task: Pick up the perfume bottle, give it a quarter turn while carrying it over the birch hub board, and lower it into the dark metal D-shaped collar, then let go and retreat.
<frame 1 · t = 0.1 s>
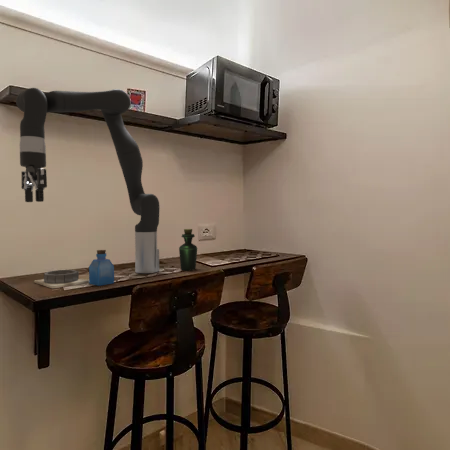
hand: (34, 201, 117), 29 cm above the table, fingers open, 8 cm apart
hub board: (61, 282, 130), on the table
potion bottle: (188, 269, 158), on the table
perfume bottle: (101, 283, 129), on the table
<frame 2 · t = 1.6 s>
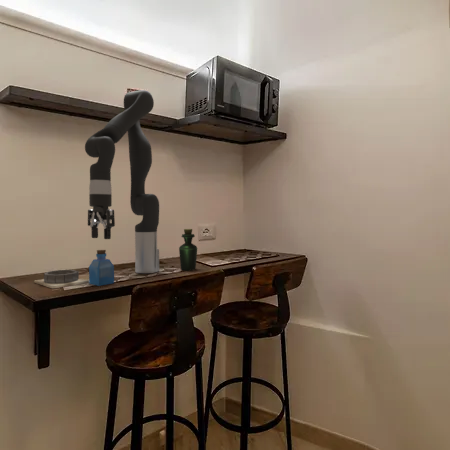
hand: (100, 238, 128), 16 cm above the table, fingers open, 8 cm apart
nothing on the table moved.
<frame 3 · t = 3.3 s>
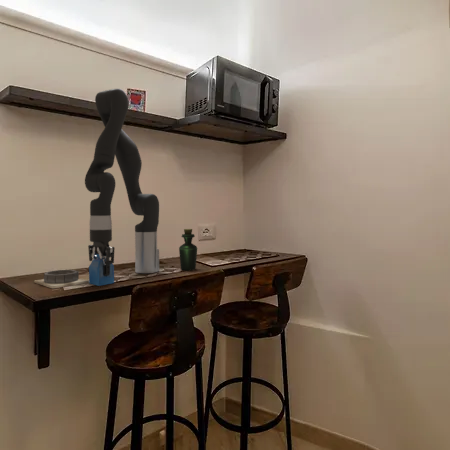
hand: (101, 274, 128), 3 cm above the table, fingers closed on perfume bottle, 6 cm apart
perfume bottle: (101, 283, 129), on the table, touching gripper
everything else where it was.
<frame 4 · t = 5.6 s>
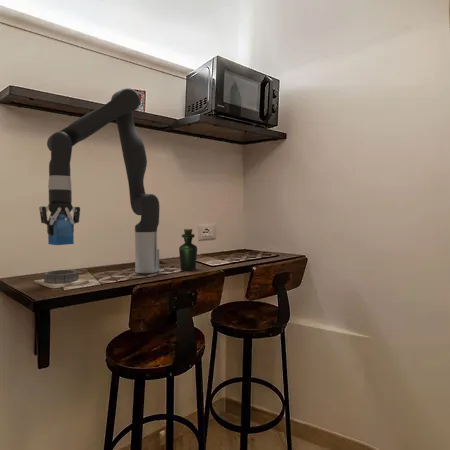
hand: (60, 235, 129), 17 cm above the table, fingers closed on perfume bottle, 6 cm apart
perfume bottle: (61, 244, 129), point 14 cm above the table, touching gripper
everything else where it was.
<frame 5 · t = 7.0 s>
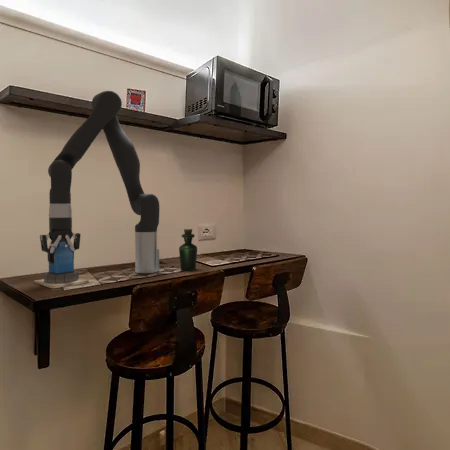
hand: (61, 262, 129), 7 cm above the table, fingers closed on perfume bottle, 6 cm apart
perfume bottle: (61, 271, 129), point 4 cm above the table, touching gripper
everything else where it was.
when the fingers open (5 cm above the table, at t = 8.0 s): perfume bottle stays where it is, resting on hub board.
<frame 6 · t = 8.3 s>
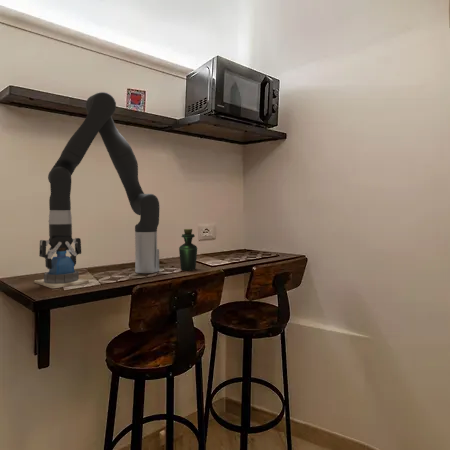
hand: (61, 267, 129), 6 cm above the table, fingers open, 8 cm apart
perfume bottle: (61, 281, 130), point 1 cm above the table, touching hub board
everything else where it was.
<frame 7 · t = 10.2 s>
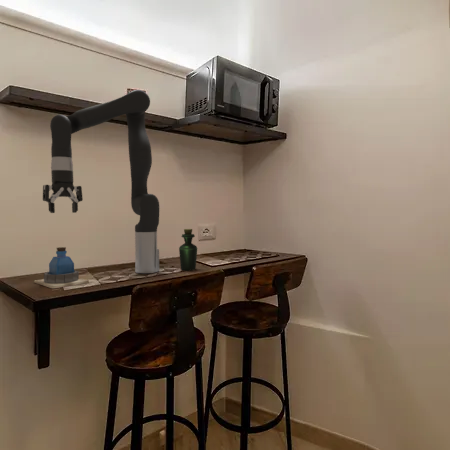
hand: (63, 212, 136), 25 cm above the table, fingers open, 8 cm apart
nothing on the table moved.
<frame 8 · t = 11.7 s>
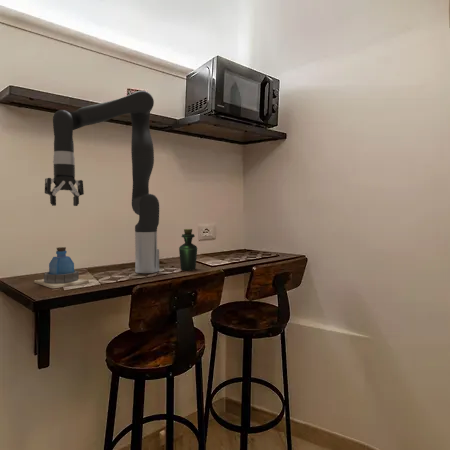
hand: (65, 205, 139), 28 cm above the table, fingers open, 8 cm apart
nothing on the table moved.
at the end: perfume bottle 0.1 cm off-centre on the hub board, point 0.6 cm above the hub board's base; perfume bottle tilted 0°; the gripper is holding nothing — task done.
